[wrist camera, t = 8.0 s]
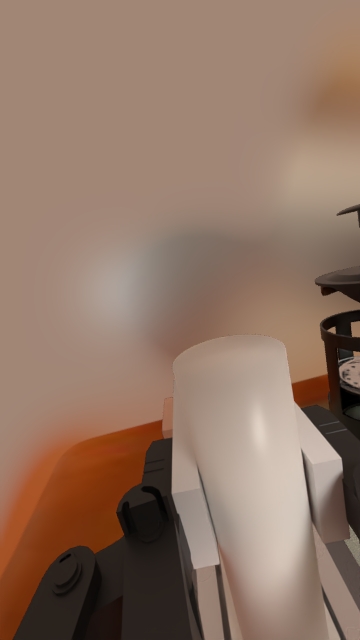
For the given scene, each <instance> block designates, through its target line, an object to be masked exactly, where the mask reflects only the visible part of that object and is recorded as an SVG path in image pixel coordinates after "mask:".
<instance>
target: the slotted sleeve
mask: <svg viewBox="0 0 360 640" xmlns="http://www.w3.org/2000/svg"><path fill="white" fill-rule="evenodd" d="M312 527H313V533H314V540H315V547H316V554H317V560H318V567H319V574H320V581H321V587H322V594H323V600H324V602H325V605H326V607H327V609H328V612H329V614H330V616H331V619H332V621H333V623H334V625H335V628H336V630H337V632H338V635H339V637H340V639H341V640H360V567H359V565H358V563H357V562H356V560H355V558H354V557H353V555H352V553H351V552H350V550H349V548H348V547H347V545H346V543H345V542H344V540H340V541H335V542H330V543H324V544H323V542H322V540H321V538H320V536H319V534H318V532H317V530H316V528H315V526H314V524H313V523H312ZM216 541H217V538H216ZM217 548H218V542H217ZM218 554H219V549H218ZM219 561H220V556H219ZM191 568H192V580H193V583H194V586H195V590H196V594H197V600H198V605H199V611H200V616H201V622H202V627H203V632H204V638H205V640H232V638H231V631H230V624H229V617H228V611H227V604H226V597H225V590H224V583H223V577H222V570H221V563H220V564H218V565H212V566H207V567H202V568H197V569H194V567H193V564H192V560H191Z"/></svg>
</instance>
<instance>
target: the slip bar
mask: <svg viewBox="0 0 360 640" xmlns="http://www.w3.org/2000/svg"><path fill="white" fill-rule="evenodd" d="M172 369H173V373H174V377H175V381H176V385H177V389H178V392H179V396H180V400H181V404H182V408H183V412H184V415H185V419H186V423H187V427H188V431H189V435H190V438H191V442H192V446H193V450H194V454H195V458H196V461H197V465H198V469H199V473H200V477H201V481H202V484H203V488H204V492H205V496H206V500H207V504H208V507H209V511H210V515H211V519H212V523H213V527H214V530H215V534H216V538H217V542H218V549H219V556H220V563H221V570H222V577H223V583H224V590H225V597H226V604H227V611H228V617H229V624H230V631H231V638H232V640H341V639H340V637H339V635H338V632H337V630H336V628H335V625H334V623H333V621H332V619H331V616H330V614H329V612H328V609H327V607H326V605H325V602H324V600H323V594H322V587H321V581H320V574H319V567H318V560H317V554H316V547H315V540H314V533H313V527H312V520H311V513H310V506H309V500H308V493H307V486H306V480H305V473H304V466H303V459H302V453H301V446H300V439H299V432H298V426H297V419H296V412H295V406H294V399H293V392H292V385H291V379H290V372H289V365H288V359H287V352H286V347H285V345H284V344H283V343H282V342H281V341H279V340H278V339H276V338H273V337H270V336H265V335H256V334H241V335H231V336H224V337H220V338H215V339H211V340H208V341H205V342H202V343H199V344H197V345H195V346H192V347H190V348H189V349H187V350H185V351H184V352H182V353H181V354H180V355H179V356H178V357H177V358H176V359H175V360H174V362H173V365H172Z"/></svg>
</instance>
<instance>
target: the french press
mask: <svg viewBox="0 0 360 640" xmlns="http://www.w3.org/2000/svg"><path fill="white" fill-rule="evenodd" d="M355 211H357V212H358V221H359V227H360V204H359V205H356V206H353V207H350V208H347V209H345V210H342V211H341V212H339V213H338V214H337V216H338V215H342V214H346V213H351V212H355ZM315 284H316V285H318V286H321V293H322V295H323V296H326V295H329V294H331V293H334V292H337V291H340V292H342V293H343V294H345V295H347V296H348V297H350V298H352V299H353V300H355V301H358V302H360V266H356V267H351V268H347V269H343V270H339V271H335V272H331V273H328V274H325V275H322V276H320V277H318V278H316V279H315ZM356 321H360V310H353V311H348V312H342V313H339V314H335V315H332V316H330V317H328V318H326V319H324V320H323V321H322V322H321V323H320V329H321V337H322V340H323V341H324V343H325V353H326V362H327V371H328V380H329V389H330V391H329V394H328V400H329V409H330V412H331V413H332V414H333V415H334V416H335V417H336V418H337V419H338V420H339V422H341V423H342V424H343V425H344V426H345V427H346V428H347V430H349V431H350V432H351V433H352V434H353V435H354V436H355V437H356V438H357V439H358V440H359V441H360V420H357V419H354V418H352V417H350V416H348V415H346V414H344V412H345V411H346V410H348V409H350V408H352V407H355V406H360V356H357V357H354V356H353V351H356V352H360V337H352V333H351V322H356ZM332 327H335V328H336V334H333V333H331V332H328V331H327V330H328V329H330V328H332ZM337 348H338V352H337ZM338 358H339V361H338Z"/></svg>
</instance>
